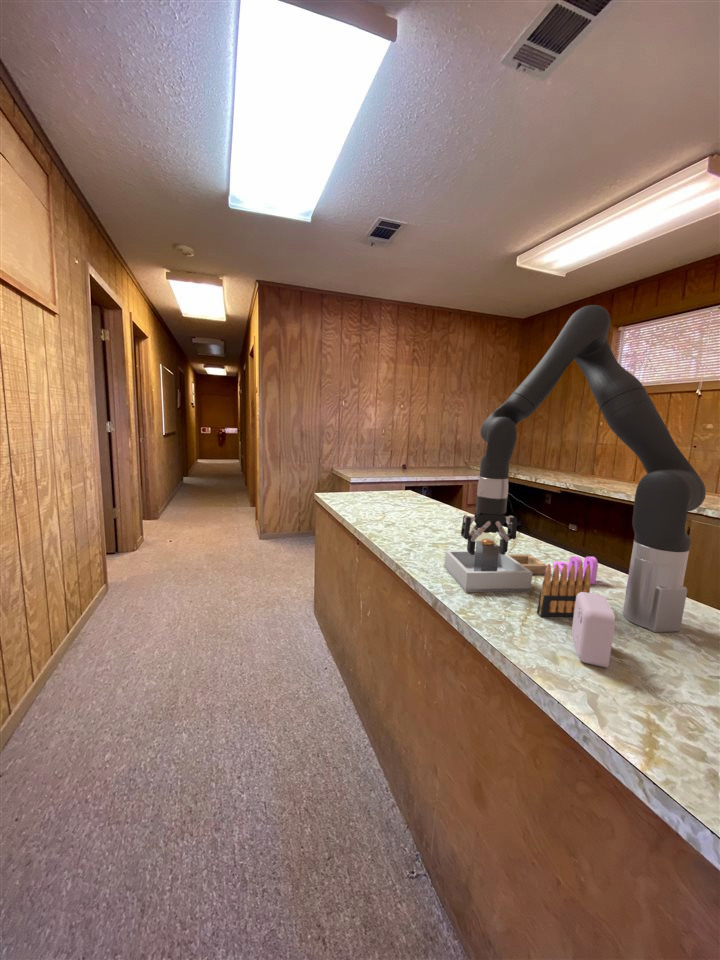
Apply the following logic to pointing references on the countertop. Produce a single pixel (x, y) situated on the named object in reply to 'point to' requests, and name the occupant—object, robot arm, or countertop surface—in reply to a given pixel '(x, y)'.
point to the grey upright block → (486, 555)
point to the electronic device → (593, 629)
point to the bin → (487, 574)
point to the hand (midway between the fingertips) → (486, 553)
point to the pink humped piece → (577, 561)
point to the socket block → (530, 563)
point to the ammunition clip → (562, 591)
